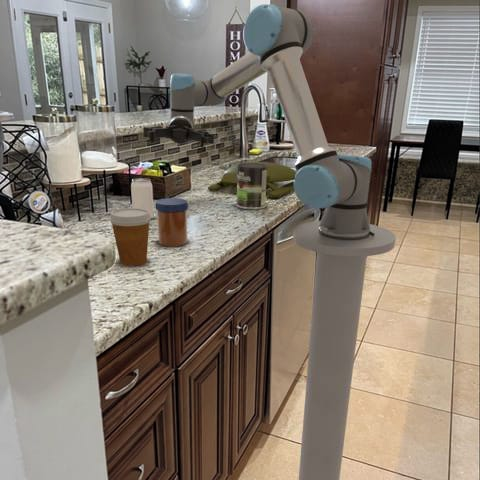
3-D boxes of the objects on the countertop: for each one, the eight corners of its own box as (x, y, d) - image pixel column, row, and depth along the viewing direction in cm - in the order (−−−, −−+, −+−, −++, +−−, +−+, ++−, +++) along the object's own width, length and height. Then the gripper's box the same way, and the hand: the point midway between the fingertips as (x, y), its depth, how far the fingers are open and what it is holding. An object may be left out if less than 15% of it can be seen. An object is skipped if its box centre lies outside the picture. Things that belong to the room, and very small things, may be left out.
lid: (188, 205, 136) (188, 198, 135) (186, 212, 128) (186, 205, 128) (158, 204, 136) (157, 197, 135) (154, 212, 128) (153, 204, 127)
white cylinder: (138, 221, 155) (136, 182, 150) (129, 217, 160) (127, 179, 155) (157, 218, 158) (155, 180, 154) (148, 214, 163) (146, 177, 158)
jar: (188, 238, 139) (187, 200, 135) (186, 246, 132) (185, 206, 128) (160, 238, 139) (158, 200, 135) (157, 246, 132) (155, 206, 128)
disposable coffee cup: (106, 266, 117) (102, 216, 112) (122, 254, 126) (118, 206, 121) (146, 269, 116) (142, 218, 111) (158, 256, 124) (156, 208, 120)
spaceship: (277, 199, 186) (278, 173, 182) (205, 191, 198) (204, 166, 195) (307, 184, 215) (309, 161, 211) (243, 178, 227) (243, 156, 224)
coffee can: (250, 211, 170) (251, 168, 164) (230, 205, 177) (230, 164, 171) (271, 206, 176) (273, 165, 171) (252, 201, 183) (252, 162, 178)
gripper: (219, 146, 159) (221, 157, 140) (139, 138, 156) (130, 149, 137) (221, 121, 156) (224, 129, 136) (140, 112, 153) (131, 120, 134)
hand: (177, 139), depth 137 cm, fingers open, 13 cm apart
